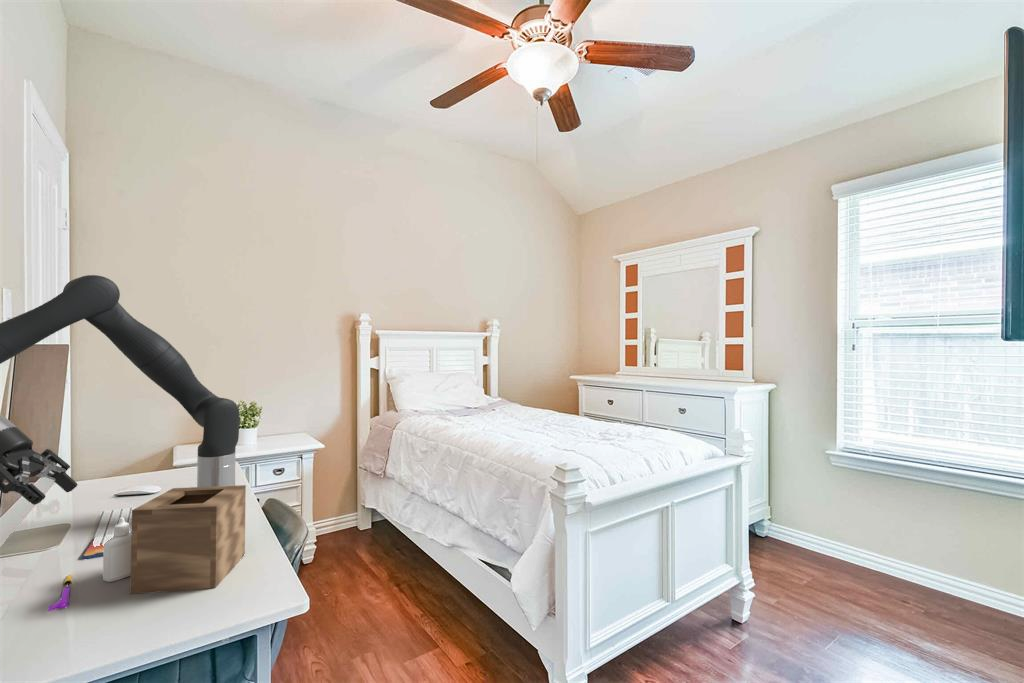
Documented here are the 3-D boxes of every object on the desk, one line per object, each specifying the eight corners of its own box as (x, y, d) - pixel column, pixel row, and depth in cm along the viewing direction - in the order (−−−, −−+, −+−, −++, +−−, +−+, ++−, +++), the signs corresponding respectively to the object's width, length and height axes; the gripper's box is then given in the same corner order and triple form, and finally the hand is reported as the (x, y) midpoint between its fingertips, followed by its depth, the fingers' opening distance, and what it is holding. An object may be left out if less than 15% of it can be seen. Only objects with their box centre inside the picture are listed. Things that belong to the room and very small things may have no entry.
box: (172, 560, 106) (173, 488, 107) (244, 555, 109) (245, 485, 109) (130, 594, 92) (131, 510, 92) (215, 587, 94) (216, 506, 94)
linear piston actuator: (68, 607, 87) (73, 576, 99) (66, 601, 87) (72, 571, 99) (48, 616, 85) (56, 583, 98) (46, 610, 85) (54, 578, 97)
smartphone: (132, 534, 123) (132, 530, 123) (122, 554, 110) (122, 549, 110) (94, 540, 119) (94, 535, 119) (80, 561, 106) (80, 557, 106)
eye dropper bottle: (138, 576, 99) (139, 518, 99) (102, 584, 95) (103, 524, 96) (137, 568, 102) (138, 512, 103) (103, 576, 99) (104, 517, 99)
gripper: (-24, 431, 89) (45, 491, 91) (38, 421, 103) (96, 472, 105) (-58, 461, 88) (11, 520, 90) (9, 446, 102) (68, 498, 104)
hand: (57, 494), depth 97 cm, fingers open, 8 cm apart
